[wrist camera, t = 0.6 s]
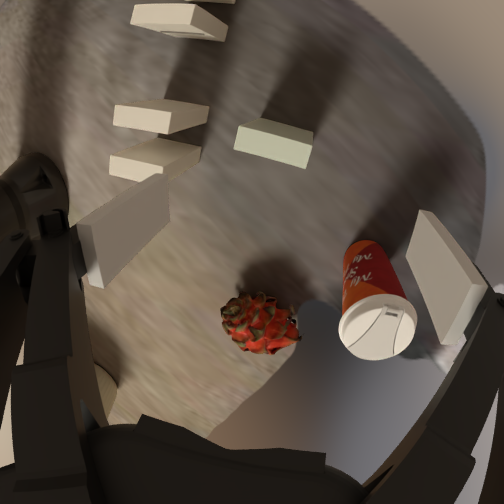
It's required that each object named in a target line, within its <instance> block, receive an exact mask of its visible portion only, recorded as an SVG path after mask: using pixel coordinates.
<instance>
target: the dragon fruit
mask: <svg viewBox="0 0 504 504" xmlns="http://www.w3.org/2000/svg"><path fill="white" fill-rule="evenodd" d="M259 294H260V295H259ZM256 295H259V296H258V297H252V298H251V296H250V295H249V294H248V293H246V292H240V294H239V297H238V298H232V299H230V300H229V301H228V303H226V306H224V307H221V308H220V309H221V317H222V319H223V322H222V326H223V329H224V330H225V332H226V333H227V334H228V335H232V340H233V341H234V342H235V343H236V344H237V345H238V346H239V347H240V348H241V350H243V351H251V352H253V353H256V354H263V353H266V354H269V355H274V354H275V353H276V352H277V351H278V350H280V349H282V348H284V347H287V346H289V345H291V344H293V343H296V342H298V341H300V340H301V339H302V336H300V337H299V331H298V329H297V328H296V320H295V319H291V318H292V317H291V316H290V315H291V313H292V314H294V315H295V310H294V306H293V305H291V304H290V305H289V306H290V309H277V308H276V303H277V299H276V298H275V297H270V296H267V297H266V296H265V294H264V293H263V292H261V291H258V292H257V294H256ZM266 300H271V301H269V302H266ZM287 318H288V319H289V320H287ZM291 321H292V322H293V323H294V324H293V323H291Z"/></svg>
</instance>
